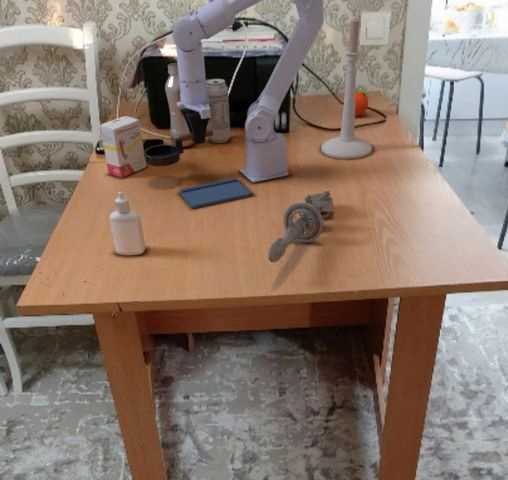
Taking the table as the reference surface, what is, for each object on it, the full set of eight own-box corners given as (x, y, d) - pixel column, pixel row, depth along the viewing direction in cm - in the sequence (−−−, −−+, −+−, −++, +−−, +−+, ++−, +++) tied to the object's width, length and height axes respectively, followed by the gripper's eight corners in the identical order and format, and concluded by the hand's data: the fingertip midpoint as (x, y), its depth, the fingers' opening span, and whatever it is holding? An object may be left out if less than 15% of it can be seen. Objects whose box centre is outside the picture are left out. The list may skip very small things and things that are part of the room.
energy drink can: (229, 135, 163) (226, 77, 154) (231, 142, 159) (228, 83, 149) (207, 137, 163) (203, 79, 153) (209, 144, 158) (204, 85, 149)
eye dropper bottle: (134, 260, 111) (123, 200, 104) (112, 252, 114) (100, 193, 106) (149, 250, 114) (139, 191, 107) (127, 243, 117) (116, 185, 109)
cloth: (236, 181, 138) (235, 177, 138) (251, 195, 132) (251, 191, 131) (179, 193, 134) (179, 188, 134) (192, 208, 128) (192, 204, 127)
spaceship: (241, 241, 99) (283, 231, 95) (305, 182, 126) (340, 172, 122) (257, 284, 102) (298, 275, 98) (317, 217, 129) (351, 208, 125)
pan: (151, 169, 132) (147, 148, 129) (141, 157, 138) (138, 137, 135) (219, 155, 137) (218, 135, 134) (207, 144, 143) (205, 124, 140)
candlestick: (331, 138, 159) (338, 11, 140) (378, 144, 154) (391, 14, 135) (313, 154, 150) (318, 21, 131) (362, 161, 145) (373, 24, 127)
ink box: (121, 178, 142) (112, 128, 134) (108, 174, 144) (98, 125, 137) (147, 167, 147) (140, 118, 140) (133, 163, 150) (125, 115, 142)
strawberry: (373, 113, 174) (375, 87, 170) (368, 120, 169) (370, 94, 165) (346, 111, 177) (348, 85, 172) (340, 118, 172) (342, 92, 167)
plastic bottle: (167, 148, 157) (156, 67, 144) (178, 139, 162) (170, 60, 149) (188, 151, 155) (180, 68, 142) (200, 142, 160) (192, 62, 147)
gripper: (164, 74, 133) (172, 135, 141) (186, 90, 122) (192, 155, 131) (194, 70, 135) (200, 130, 143) (217, 85, 124) (222, 149, 133)
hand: (198, 141), depth 137 cm, fingers closed on pan
